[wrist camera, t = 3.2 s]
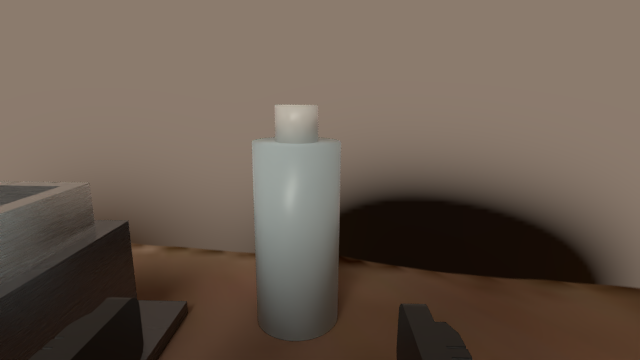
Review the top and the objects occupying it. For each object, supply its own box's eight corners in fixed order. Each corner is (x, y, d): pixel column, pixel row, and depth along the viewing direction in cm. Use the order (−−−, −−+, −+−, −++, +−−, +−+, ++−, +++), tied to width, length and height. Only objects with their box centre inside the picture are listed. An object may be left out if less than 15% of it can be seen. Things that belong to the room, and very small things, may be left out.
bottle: (336, 295, 25) (340, 104, 22) (338, 342, 20) (343, 106, 18) (265, 293, 25) (259, 104, 23) (249, 340, 21) (240, 105, 18)
